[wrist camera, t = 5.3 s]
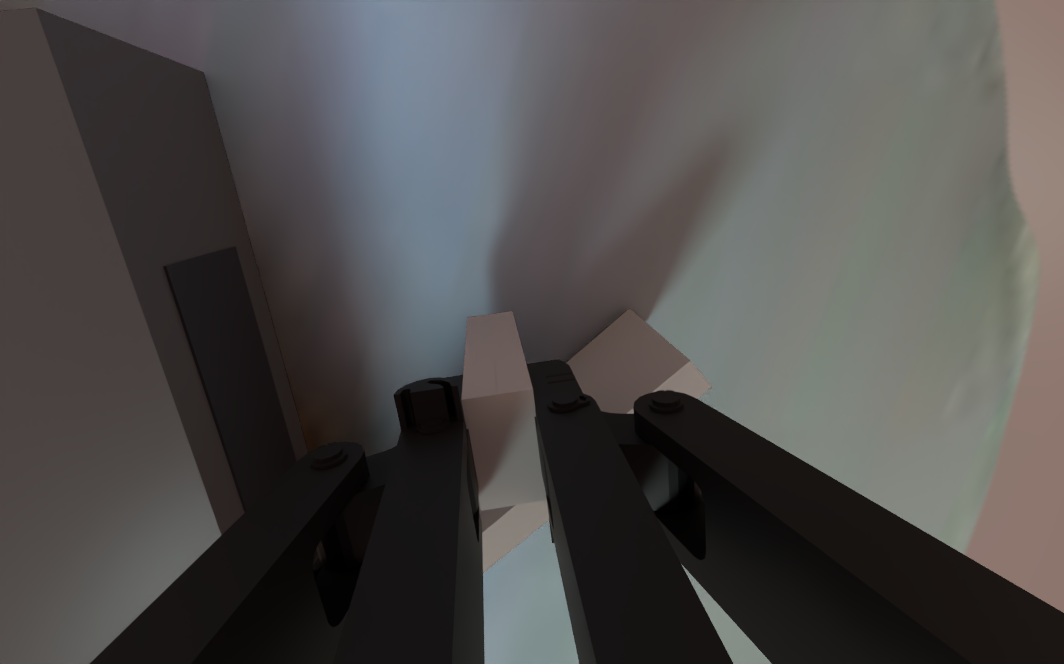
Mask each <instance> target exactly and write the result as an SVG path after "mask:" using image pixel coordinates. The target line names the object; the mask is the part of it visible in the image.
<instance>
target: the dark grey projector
mask: <svg viewBox="0 0 1064 664" xmlns="http://www.w3.org/2000/svg"><path fill="white" fill-rule="evenodd" d="M306 454H308V451H307V447H306V443H305V440H304V436H303V432H302V429H301V425H300V421H299V418H298V414H297V411H296V407H295V403H294V400H293V396H292V392H291V389H290V385H289V382H288V378H287V374H286V371H285V367H284V363H283V360H282V356H281V352H280V349H279V345H278V342H277V338H276V334H275V331H274V327H273V323H272V320H271V316H270V313H269V309H268V305H267V302H266V298H265V294H264V291H263V287H262V283H261V280H260V276H259V273H258V269H257V265H256V262H255V258H254V254H253V251H252V247H251V243H250V240H249V236H248V233H247V229H246V225H245V222H244V218H243V214H242V211H241V207H240V204H239V200H238V196H237V193H236V189H235V185H234V182H233V178H232V174H231V171H230V167H229V164H228V160H227V156H226V153H225V149H224V145H223V142H222V138H221V135H220V131H219V127H218V124H217V120H216V116H215V113H214V109H213V105H212V102H211V98H210V95H209V91H208V87H207V84H206V80H205V76H204V73H203V72H201V71H199V70H196V69H193V68H191V67H188V66H186V65H183V64H180V63H178V62H175V61H173V60H170V59H167V58H165V57H162V56H160V55H157V54H154V53H152V52H149V51H147V50H144V49H141V48H139V47H136V46H134V45H131V44H128V43H126V42H123V41H121V40H118V39H115V38H113V37H110V36H108V35H105V34H102V33H100V32H97V31H95V30H92V29H89V28H87V27H84V26H82V25H79V24H76V23H74V22H71V21H69V20H66V19H63V18H61V17H58V16H56V15H53V14H50V13H48V12H45V11H43V10H40V9H37V8H28V9H17V10H6V11H0V664H90V663H91V662H92V661H93V660H94V659H95V658H96V657H97V656H98V655H99V654H100V653H101V652H102V651H103V650H104V649H105V648H106V647H107V646H108V645H109V644H110V643H111V642H112V641H113V640H114V639H115V638H117V637H118V636H119V635H120V634H121V633H122V632H123V631H124V630H125V629H126V628H127V627H128V626H129V625H130V624H131V623H132V622H133V621H134V620H135V619H136V618H137V617H138V616H139V615H140V614H141V613H142V612H143V611H144V610H145V609H146V608H147V607H148V606H149V605H150V604H151V603H152V602H153V601H155V600H156V599H157V598H158V597H159V596H160V595H161V594H162V593H163V592H164V591H165V590H166V589H167V588H168V587H169V586H170V585H171V584H172V583H173V582H174V581H175V580H176V579H177V578H178V577H179V576H180V575H181V574H182V573H183V572H184V571H185V570H186V569H187V568H188V567H189V566H190V565H191V564H193V563H194V562H195V561H196V560H197V559H198V558H199V557H200V556H201V555H202V554H203V553H204V552H205V551H206V550H207V549H208V548H209V547H210V546H211V545H212V544H213V543H214V542H215V541H216V540H217V539H218V538H219V537H220V536H221V535H222V534H223V533H224V532H225V531H226V530H227V529H228V528H229V527H231V526H232V525H233V524H234V523H235V522H236V521H237V520H238V519H239V518H240V517H241V516H242V515H243V514H244V513H245V512H246V511H247V510H248V509H249V508H250V507H251V506H252V505H253V504H254V503H255V502H256V501H257V500H258V499H259V498H260V497H261V496H262V495H263V494H264V493H265V492H266V491H267V490H269V489H270V488H271V487H272V486H273V485H274V484H275V483H276V482H277V481H278V480H279V479H280V478H281V477H282V476H283V475H284V474H285V473H286V472H287V471H288V470H289V469H290V468H291V467H292V466H293V465H294V464H295V463H296V462H297V461H298V460H299V459H301V458H302V457H304V456H305V455H306ZM318 557H319V556H318V553H317V549H316V550H315V554H314V559H313V564H314V563H315V561H316V560H317V559H318Z"/></svg>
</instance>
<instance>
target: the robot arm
mask: <svg viewBox="0 0 1064 664" xmlns="http://www.w3.org/2000/svg"><path fill="white" fill-rule="evenodd" d="M394 399H395V403H396V408H397V413H398V417H399V422H400V426H401V434H400V437H399V441H398V444H397V446H396V447H394V448H392V449H389V450H387V451H384V452H382V453H378V454H375V455H372V456H369V457H365V453H364V450H363V447H362V445H360V444H358V443H355V442H340V443H337V442H333V443H329V444H328V445H326V444H325V445H323V446H320V447H318V448H317V449H316V450H314V451H311V452H309V453H308V454H306V455H305V456H304V457H302V458H301V459H299V460H298V461H297V462H296V463H295V464H294V465H293V466H292V467H291V468H290V469H289V470H288V471H287V472H286V473H285V474H284V475H283V476H282V477H281V478H280V479H279V480H278V481H277V482H276V483H275V484H274V485H273V486H272V487H271V488H270V489H269V490H267V491H266V492H265V493H264V494H263V495H262V496H261V497H260V498H259V499H258V500H257V501H256V502H255V503H254V504H253V505H252V506H251V507H250V508H249V509H248V510H247V511H246V512H245V513H244V514H243V515H242V516H241V517H240V518H239V519H238V520H237V521H236V522H235V523H234V524H233V525H232V526H231V527H229V528H228V529H227V530H226V531H225V532H224V533H223V534H222V535H221V536H220V537H219V538H218V539H217V540H216V541H215V542H214V543H213V544H212V545H211V546H210V547H209V548H208V549H207V550H206V551H205V552H204V553H203V554H202V555H201V556H200V557H199V558H198V559H197V560H196V561H195V562H194V563H193V564H191V565H190V566H189V567H188V568H187V569H186V570H185V571H184V572H183V573H182V574H181V575H180V576H179V577H178V578H177V579H176V580H175V581H174V582H173V583H172V584H171V585H170V586H169V587H168V588H167V589H166V590H165V591H164V592H163V593H162V594H161V595H160V596H159V597H158V598H157V599H156V600H155V601H153V602H152V603H151V604H150V605H149V606H148V607H147V608H146V609H145V610H144V611H143V612H142V613H141V614H140V615H139V616H138V617H137V618H136V619H135V620H134V621H133V622H132V623H131V624H130V625H129V626H128V627H127V628H126V629H125V630H124V631H123V632H122V633H121V634H120V635H119V636H118V637H117V638H115V639H114V640H113V641H112V642H111V643H110V644H109V645H108V646H107V647H106V648H105V649H104V650H103V651H102V652H101V653H100V654H99V655H98V656H97V657H96V658H95V659H94V660H93V661H92V662H91V663H90V664H484V610H483V552H482V522H481V516H480V510H479V504H480V509H481V511H483V510H489V509H495V508H502V507H508V506H514V505H520V504H526V503H532V502H538V501H544V500H547V506H548V514H549V522H550V530H551V538H552V543H555V548H556V553H557V557H558V562H559V567H560V572H561V577H562V582H563V586H564V591H565V596H566V601H567V606H568V611H569V615H570V620H571V625H572V630H573V635H574V640H575V644H576V649H577V654H578V659H579V664H733V662H732V660H731V658H730V656H729V655H728V653H727V651H726V649H725V647H724V645H723V643H722V641H721V639H720V637H719V635H718V634H717V632H716V630H715V628H714V626H713V624H712V622H711V620H710V618H709V616H708V614H707V613H706V611H705V609H704V607H703V605H702V603H701V601H700V599H699V597H698V595H697V593H696V591H695V590H694V588H693V586H692V584H691V582H690V580H689V578H688V576H687V574H686V572H685V570H684V569H683V567H682V565H683V566H684V567H685V568H686V569H687V570H688V571H689V573H690V574H691V575H692V576H693V577H694V578H695V579H696V580H697V581H698V582H699V584H700V585H701V586H702V587H703V588H704V589H705V590H706V591H707V592H708V594H709V595H710V596H711V597H712V598H713V599H714V600H715V601H716V602H717V603H718V605H719V606H720V607H721V608H722V609H723V610H724V611H725V612H726V613H727V614H728V616H729V617H730V618H731V619H732V620H733V621H734V622H735V623H736V624H737V626H738V627H739V628H740V629H741V630H742V631H743V632H744V633H745V634H746V635H747V637H748V638H749V639H750V640H751V641H752V642H753V643H754V644H755V645H756V646H757V648H758V649H759V650H760V651H761V652H762V653H763V654H764V655H765V656H766V657H767V659H768V660H769V661H770V662H771V663H772V664H1064V613H1063V612H1061V611H1059V610H1057V609H1056V608H1054V607H1053V606H1051V605H1049V604H1047V603H1046V602H1044V601H1042V600H1041V599H1039V598H1037V597H1035V596H1034V595H1032V594H1030V593H1029V592H1027V591H1025V590H1023V589H1022V588H1020V587H1018V586H1016V585H1014V584H1013V583H1011V582H1009V581H1008V580H1006V579H1005V578H1003V577H1001V576H999V575H998V574H996V573H994V572H993V571H991V570H989V569H987V568H986V567H984V566H982V565H980V564H979V563H977V562H975V561H974V560H972V559H970V558H969V557H967V556H965V555H963V554H962V553H960V552H958V551H957V550H955V549H953V548H951V547H950V546H948V545H946V544H945V543H943V542H941V541H939V540H938V539H936V538H934V537H933V536H931V535H929V534H927V533H926V532H924V531H922V530H921V529H919V528H917V527H915V526H914V525H912V524H910V523H909V522H907V521H905V520H903V519H902V518H900V517H898V516H897V515H895V514H893V513H891V512H890V511H888V510H886V509H885V508H883V507H881V506H880V505H878V504H876V503H874V502H873V501H871V500H869V499H868V498H866V497H864V496H862V495H861V494H859V493H857V492H856V491H854V490H852V489H850V488H849V487H847V486H845V485H844V484H842V483H840V482H838V481H837V480H835V479H833V478H832V477H830V476H828V475H826V474H825V473H823V472H821V471H820V470H818V469H816V468H814V467H813V466H811V465H809V464H808V463H806V462H804V461H802V460H801V459H799V458H797V457H796V456H794V455H792V454H790V453H789V452H787V451H785V450H784V449H782V448H780V447H778V446H777V445H775V444H773V443H772V442H770V441H768V440H766V439H765V438H763V437H761V436H760V435H758V434H756V433H754V432H753V431H751V430H749V429H748V428H746V427H744V426H742V425H741V424H739V423H737V422H736V421H734V420H732V419H730V418H729V417H727V416H725V415H724V414H722V413H720V412H718V411H717V410H715V409H713V408H712V407H710V406H708V405H706V404H705V403H703V402H701V401H700V400H698V399H696V398H694V397H692V396H690V395H687V394H685V393H680V392H675V391H673V390H666V391H664V390H659V391H656V392H653V393H648V394H645V395H643V396H640V397H639V398H638V399H637V400H636V401H635V402H634V407H633V409H634V414H620V413H609V412H603V411H601V410H600V408H599V406H598V404H597V402H596V401H595V400H594V399H593V398H592V397H591V396H589V395H586V394H583V392H582V390H581V388H580V386H579V384H578V382H577V380H576V378H575V376H574V374H573V372H572V370H571V368H570V366H569V365H568V364H566V363H564V362H563V361H561V360H552V361H545V362H538V363H532V364H526V361H525V357H524V353H523V350H522V346H521V342H520V338H519V334H518V330H517V327H516V323H515V319H514V315H513V311H509V312H502V313H495V314H488V315H481V316H474V317H467V330H466V343H465V357H464V371H463V375H460V376H453V377H447V378H428V379H424V380H419V381H416V382H413V383H410V384H408V385H405V386H404V387H402V388H400V389H399V390H398V391H397V392H396V393H395V394H394ZM316 549H317V553H318V556H319V557H318V559H317V560H316V561H315V563H314V564H313V559H314V554H315V550H316ZM681 564H682V565H681Z"/></svg>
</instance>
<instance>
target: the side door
mask: <svg viewBox="0 0 1064 664" xmlns="http://www.w3.org/2000/svg"><path fill="white" fill-rule="evenodd" d="M566 364H568V365H569V366H570V368H571V370H572V372H573V374H574V376H575V378H576V380H577V382H578V384H579V386H580V388H581V390H582V392H583V394H586V395H589V396H591V397H592V398H593V399H594V400H595V401H596V402H597V404H598V406H599V408H600V410H601V411H603V412H609V413H620V414H634V409H633V407H634V402H635V401H636V400H637V399H638V398H639V397H640V396H643V395H645V394H648V393H653V392H656V391H659V390H664V391H666V390H673V391H675V392H680V393H685V394H687V395H690V396H692V397H694V398H696V399H698V398H699V397H700V396H701V395H703V394H704V393H705V392H706V391H707V390H709V389H710V388H711V387H712V386H711V385H710V384H709V382H708V381H707V380H706V379H705V378H704V376H703V375H702V374H701V373H700V372H699V370H698V369H697V368H696V367H695V366H694V364H693V363H692V362H691V361H690V360H689V359H688V358H687V357H686V356H684V355H683V354H682V353H681V352H680V351H679V350H677V349H676V348H675V347H674V346H673V345H672V344H670V343H669V342H668V341H667V340H666V339H665V338H663V337H662V336H661V335H660V334H659V333H658V332H656V331H655V330H654V329H653V328H652V327H651V326H650V325H648V324H647V323H646V322H645V321H644V320H643V319H641V318H640V317H639V316H638V315H637V314H636V313H634V312H633V311H632V310H631V309H630V308H629V309H628V310H627V311H626V312H625V313H623V314H622V315H621V316H620V317H619V318H618V319H616V320H615V321H614V322H613V323H612V324H611V325H609V326H608V327H607V328H606V329H605V330H604V331H603V332H601V333H600V334H599V335H598V336H597V337H596V338H594V339H593V340H592V341H591V342H590V343H589V344H587V345H586V346H585V347H584V348H583V349H582V350H580V351H579V352H578V353H577V354H576V355H575V356H573V357H572V358H571V359H570V360H569V361H568V362H566ZM479 510H480V516H481V522H482V552H483V573H484V572H485V571H487V570H488V569H489V568H490V567H492V566H493V565H494V564H495V563H496V562H498V561H499V560H500V559H501V558H503V557H504V556H505V555H506V554H507V553H509V552H510V551H511V550H512V549H514V548H515V547H516V546H517V545H519V544H520V543H521V542H522V541H523V540H525V539H526V538H527V537H528V536H530V535H531V534H532V533H533V532H534V531H536V530H537V529H538V528H539V527H541V526H542V525H543V524H544V523H546V522H547V521H548V520H549V514H548V506H547V500H544V501H538V502H532V503H526V504H520V505H514V506H508V507H502V508H495V509H489V510H483V511H481V509H480V504H479Z"/></svg>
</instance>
